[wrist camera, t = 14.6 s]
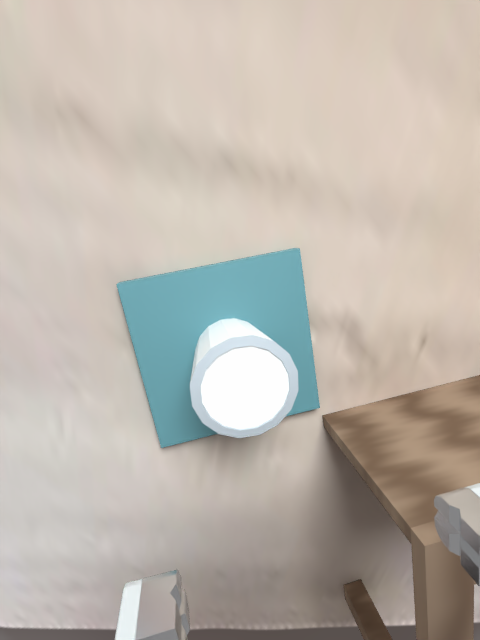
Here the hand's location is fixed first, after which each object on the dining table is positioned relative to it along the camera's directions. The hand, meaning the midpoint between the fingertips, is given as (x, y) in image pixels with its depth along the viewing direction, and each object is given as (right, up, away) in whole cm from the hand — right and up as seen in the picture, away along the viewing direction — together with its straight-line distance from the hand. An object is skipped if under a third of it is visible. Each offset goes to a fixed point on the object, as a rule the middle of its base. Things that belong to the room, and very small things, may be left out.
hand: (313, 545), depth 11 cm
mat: (-3, +4, +18) cm, 19 cm away
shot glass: (-3, +4, +18) cm, 19 cm away
